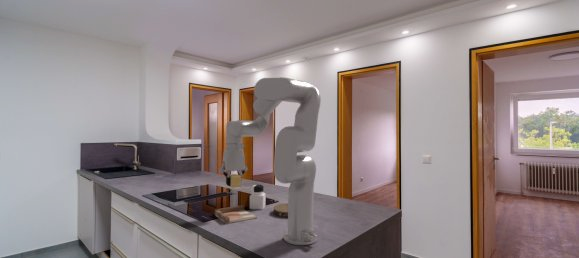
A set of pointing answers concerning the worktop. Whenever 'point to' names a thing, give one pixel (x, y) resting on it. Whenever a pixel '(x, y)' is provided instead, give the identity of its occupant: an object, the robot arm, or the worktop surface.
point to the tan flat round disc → (281, 210)
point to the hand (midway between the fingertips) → (233, 184)
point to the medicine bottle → (257, 197)
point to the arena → (233, 214)
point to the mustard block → (235, 180)
